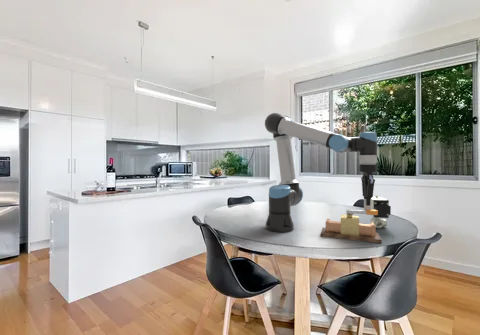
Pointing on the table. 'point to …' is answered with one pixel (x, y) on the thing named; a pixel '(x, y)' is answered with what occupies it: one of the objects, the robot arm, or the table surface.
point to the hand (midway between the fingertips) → (367, 211)
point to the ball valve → (380, 211)
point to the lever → (362, 212)
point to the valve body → (350, 226)
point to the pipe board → (350, 237)
